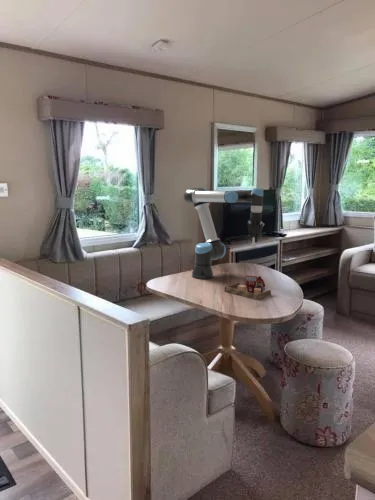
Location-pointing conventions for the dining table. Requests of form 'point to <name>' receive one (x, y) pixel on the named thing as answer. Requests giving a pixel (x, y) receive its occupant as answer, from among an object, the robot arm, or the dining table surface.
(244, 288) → the light brown cube
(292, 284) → the dining table surface
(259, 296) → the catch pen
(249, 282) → the toy fire truck
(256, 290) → the tan cube
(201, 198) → the robot arm
